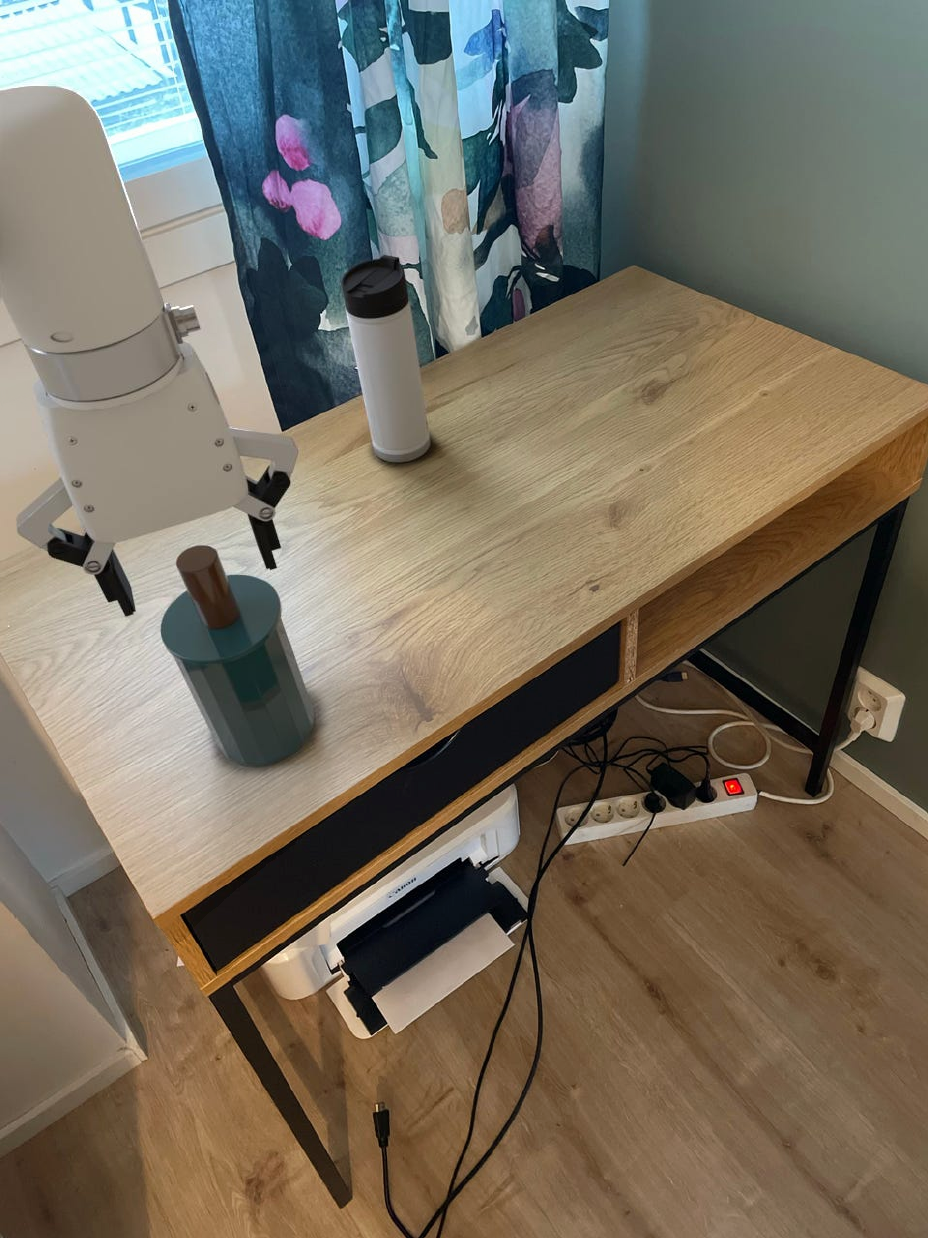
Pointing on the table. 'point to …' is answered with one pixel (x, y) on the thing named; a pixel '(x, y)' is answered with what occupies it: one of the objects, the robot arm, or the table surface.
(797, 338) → the table surface
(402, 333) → the travel mug
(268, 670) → the pot
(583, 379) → the table surface
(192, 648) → the lid
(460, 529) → the table surface
